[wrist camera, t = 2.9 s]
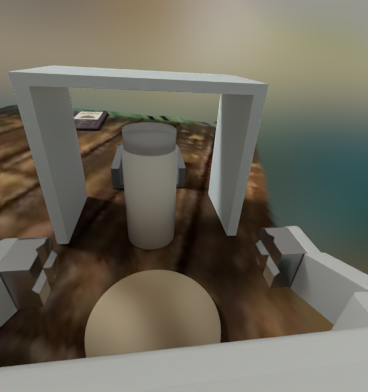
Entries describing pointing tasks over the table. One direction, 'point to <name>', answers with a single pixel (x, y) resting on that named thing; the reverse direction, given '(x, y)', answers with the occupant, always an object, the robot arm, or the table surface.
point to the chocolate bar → (89, 120)
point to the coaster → (152, 315)
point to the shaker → (150, 183)
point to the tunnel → (132, 80)
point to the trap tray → (118, 170)
